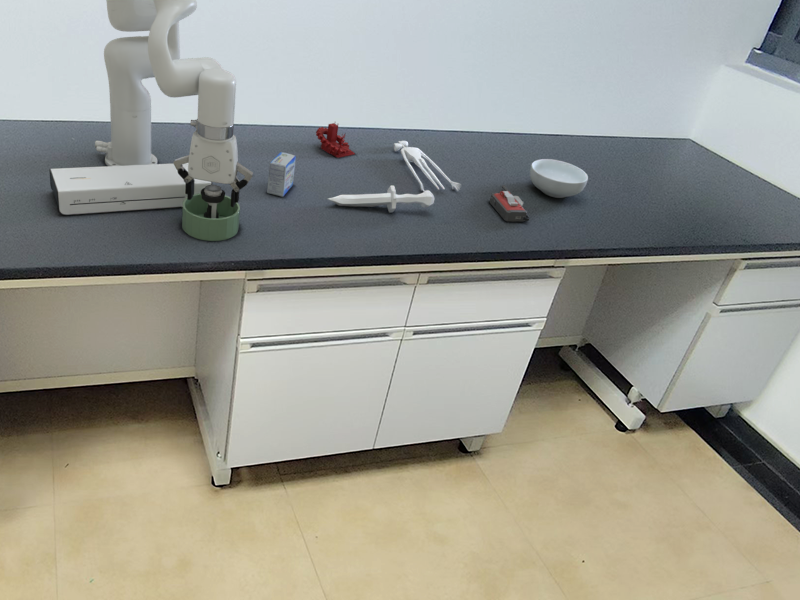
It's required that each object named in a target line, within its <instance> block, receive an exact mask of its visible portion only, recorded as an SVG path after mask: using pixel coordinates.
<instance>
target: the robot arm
mask: <svg viewBox="0 0 800 600" xmlns="http://www.w3.org/2000/svg"><path fill="white" fill-rule="evenodd" d="M197 8H198V2H197V0H106V9H107V10H106V11H107V17H108V21H109V24H110V25H111V27H112V28H113V29H115V30H117V31H120V32H129V33H133V32H148V35H143V36H141V35H138V36H125V37H118V38H117V37H116V38H115V39H112V40H110V41H109V42H108V43H106V45H105V46H104V49H103V60H104V65H105V69H106V74H107V80H108V89H109V90H108V91H109V110H110V111H109V113H110V114H109V115H110V116H109V117H110V118H109V119H110V141H108V142H105V141H103V140H95V141H94V148H95V149H96V152H97V153H103V154H105V156H104V163H105V165H106V166H128V165H151V164H158V158H157V156H156V155H155V154H153V153H152V96H151V94H150V92H149V90H148V89H147V87H146V86H144V84H143V80H146V79H147V80H148V79H152V78H154V80H155V82H156V84H157V87H158V88H159V90H160V92H161V93H163V95H165V96H167V97H168V98H183V97H191V96H197V118H196V119H191V120H190V123H189V125H190V127H193V128H195V129H196V130H194V132H193V133H192V136H191V141H190V147H189V153H188V155H185V156H181V157H178V158H175V159H174V160H173V163H172V164H174V166H175V168H176V169H177V171H178V174H179V175H180V176H181V177H182V178H183V179H184V182H185V183H186V186H185V194H188V196H187V199H188V200H191V199H192V197H193V195H194V181H195V180H194V179H198V180H204V181H209V182H212V183H215V184H221V185H222V184H223V185H229V186H230V187H231V192H230V193H231V194H230V198H231V205H230V206H231V207H234V206H235V204H236V203H238V204H239V202H240V193H241V191H240V190H242V189H243V188H245V187H246V186H247V185H248V183H250V181H251V179H253V177H254V172H253V171H251V170H250V169H248V168H247V167H245V166H244V165H242V163H240V162H239V152H238V142H237V136H236V135H235V134H234V129H235V113H236V112H235V111H236V110H235V109H236V96H237V95H236V94H237V79H236V77H235V75H234V74H233V73H232V72H230V71H228V70H225V69H224V67H222V65H221V64H220V63H219V61H217V60H216V59H215V58H213V57H206V56H205V57H204V56H203V57H192V58H189V57H188V58H181V41H180V21H182V20H184V19H186V18H187V17H189V16H191V15H192V14H193V13H194V12H195V11H196V10H197ZM185 163H188V172H187V170H186V169H185V168H184V167H183V165H182V164H185ZM238 173H239V174H241V175H243V176H244V177H243V178H242V179H241V180H240V179H239V178H238V176H237V175H238Z"/></svg>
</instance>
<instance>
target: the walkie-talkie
mask: <svg viewBox="0 0 800 600" xmlns="http://www.w3.org/2000/svg"><path fill="white" fill-rule="evenodd" d="M505 185H506V184H502V185H501V189H502V190H500V191H499V192H492V193H491V194H490V197H489V198H490V199H489V203H490V205H491V206H492V207H493V208H494V209H495V211H496V212H497V213H498V214H499V216H500V217H501V218H502V219H503V220H504V221H505V222H507V223H508V222H516V223H517V222H518V223H519V222H520V223H521V222H522V223H523V222H529V221H530V216H529V215H528V211H527V210H526V209H525V208H524V207H523V206H524V201H522V199H521V198H520V196H519V195H515V194H513V193H512V192H511V191H510V190H509V188H507V186H505Z"/></svg>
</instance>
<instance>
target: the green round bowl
mask: <svg viewBox="0 0 800 600" xmlns="http://www.w3.org/2000/svg"><path fill="white" fill-rule="evenodd" d="M230 205H231V196H229V195H225V196H224V200H223V201H222V202H220V203H218V204H217V212H218V213H219V218H205V217H204V213H205V212H207V208H208V203H207V202H205V201H204V200H203V199H202V195H201V193H198V194H194V195H193V197H192V199H191V200H188V199H187V198H186V199H184V201H183V203H182V207H181V228H182V231H184V233H186V234H187V235H188V236H190V237H192V238H193V239H197V240H201V241H207V242H219V241H225V240H229V239H231V238H233V237H235V236H236V235H237V234H238V232H239V229H240V217H241V216H240V215H241V207H240V203H239V202H238V203H236V204H235V206H234V207H231V206H230Z"/></svg>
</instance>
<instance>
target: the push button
mask: <svg viewBox="0 0 800 600" xmlns="http://www.w3.org/2000/svg"><path fill="white" fill-rule="evenodd" d="M201 195H202V199H203V200H204V201H205V202H207V203H208V208H207V212H205V213H204V217H205V218H219V213H218V212H217V204H218V203H220V202H222V201H223V200H224V196H226V191H225V190H224V189H222V187H221V186H220V185H217V184H212V185H207V186H206V187H205V188H203V189H202V190H201Z"/></svg>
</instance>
